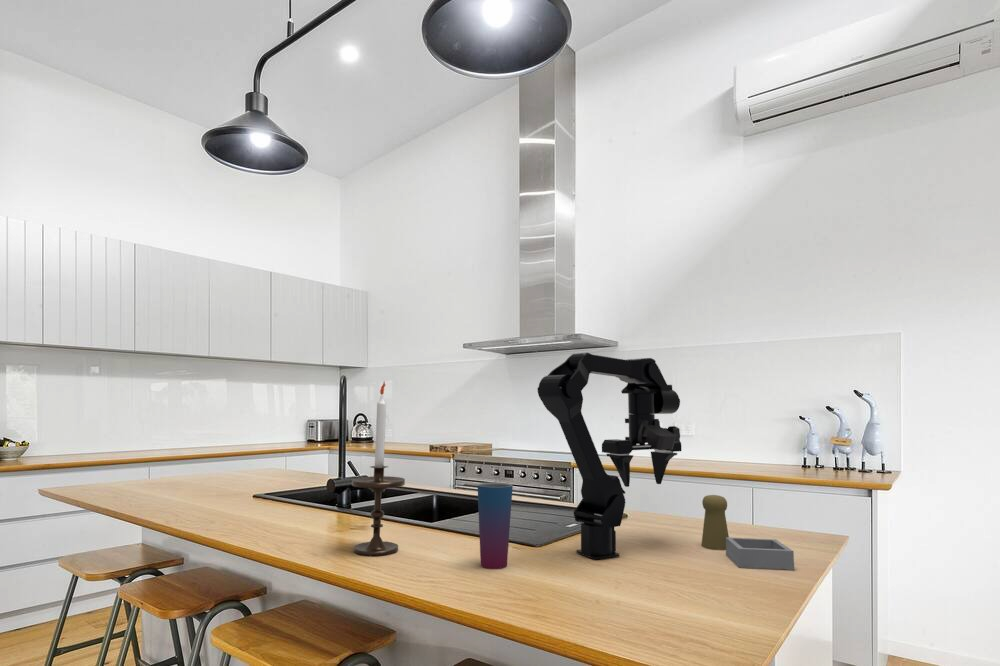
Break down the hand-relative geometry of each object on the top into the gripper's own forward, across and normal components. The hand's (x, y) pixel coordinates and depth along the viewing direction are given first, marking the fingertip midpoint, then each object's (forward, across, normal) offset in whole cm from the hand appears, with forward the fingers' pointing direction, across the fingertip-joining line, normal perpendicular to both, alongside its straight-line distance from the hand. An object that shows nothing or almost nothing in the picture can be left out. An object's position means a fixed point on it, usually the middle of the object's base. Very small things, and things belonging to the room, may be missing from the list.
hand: (643, 485), depth 132 cm
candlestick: (+13, -54, +20) cm, 59 cm away
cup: (+13, -37, 0) cm, 39 cm away
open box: (+13, +12, -20) cm, 27 cm away
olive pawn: (+13, +14, -7) cm, 21 cm away
